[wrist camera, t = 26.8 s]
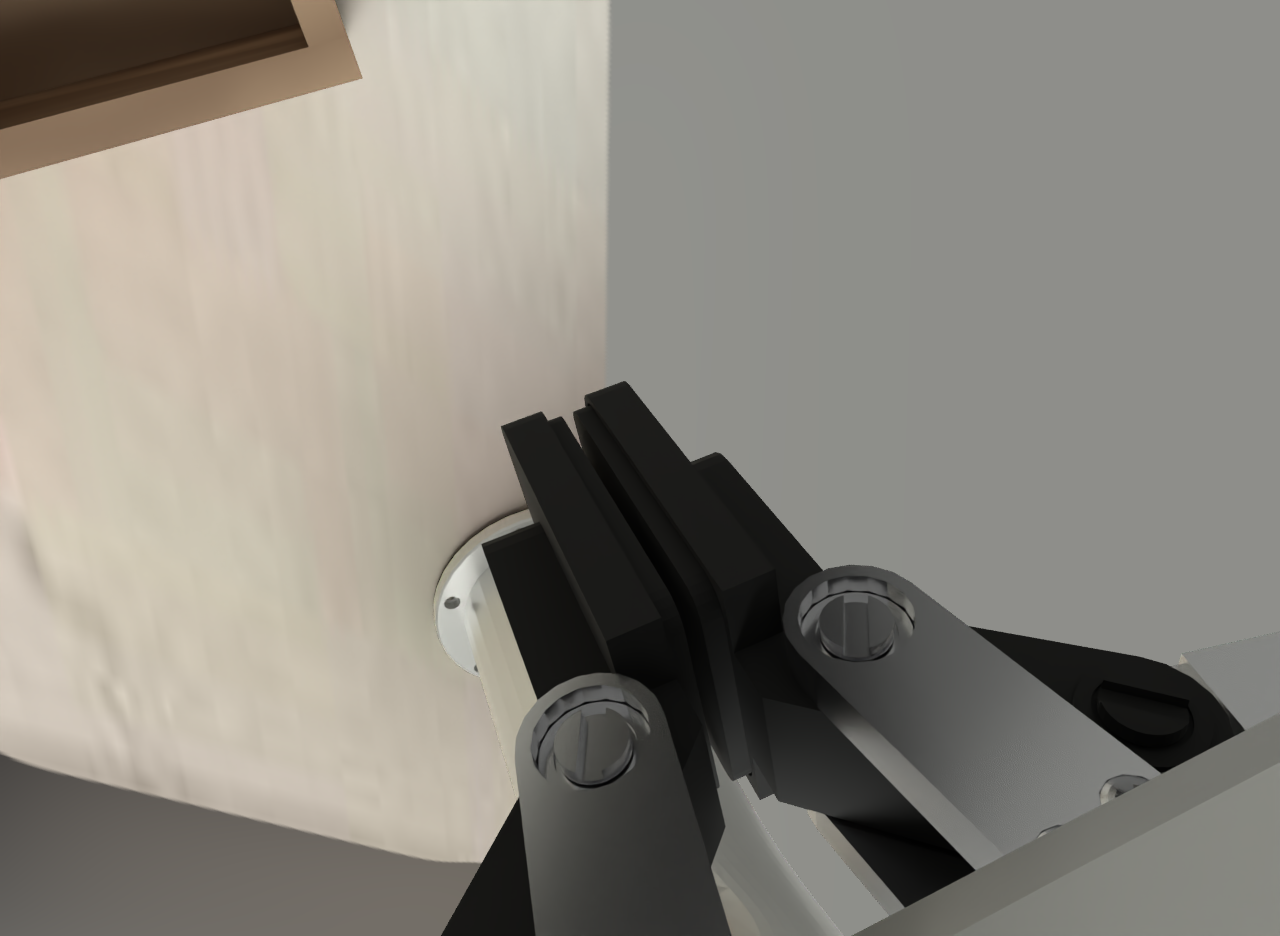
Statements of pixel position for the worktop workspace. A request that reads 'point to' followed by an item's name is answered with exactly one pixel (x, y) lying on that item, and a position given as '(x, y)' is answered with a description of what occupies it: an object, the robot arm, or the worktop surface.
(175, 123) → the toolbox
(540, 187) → the worktop surface
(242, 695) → the worktop surface
